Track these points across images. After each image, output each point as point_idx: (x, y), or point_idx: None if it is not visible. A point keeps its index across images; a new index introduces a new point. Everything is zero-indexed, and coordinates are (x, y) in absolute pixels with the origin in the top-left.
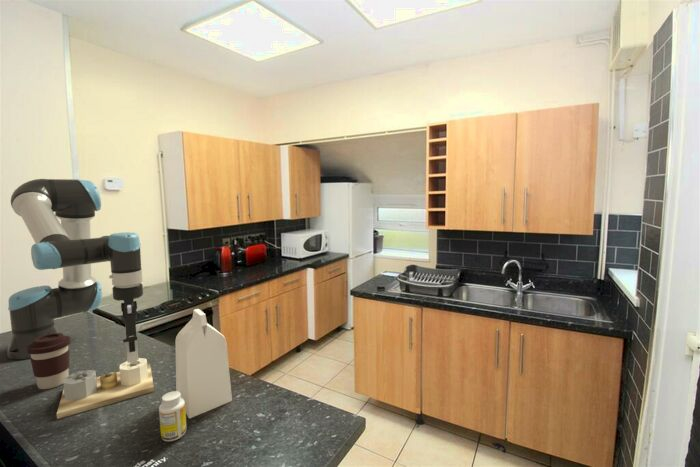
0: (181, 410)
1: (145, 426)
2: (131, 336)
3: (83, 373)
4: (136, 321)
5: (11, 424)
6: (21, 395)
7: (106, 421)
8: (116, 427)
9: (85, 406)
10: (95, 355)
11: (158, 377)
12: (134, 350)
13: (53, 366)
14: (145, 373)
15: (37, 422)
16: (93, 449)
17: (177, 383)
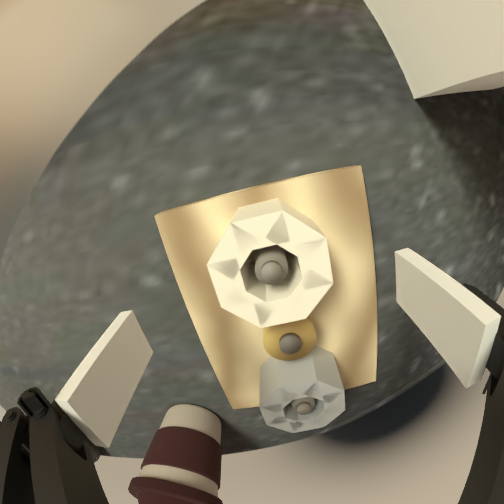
0: None
1: (490, 178)
2: (125, 358)
3: (282, 408)
4: (43, 395)
5: (341, 423)
6: (231, 442)
7: (442, 269)
8: (470, 240)
9: (376, 339)
10: (72, 369)
11: (249, 164)
12: (472, 290)
13: (214, 459)
14: (291, 209)
15: (361, 395)
16: (499, 264)
17: (459, 85)
